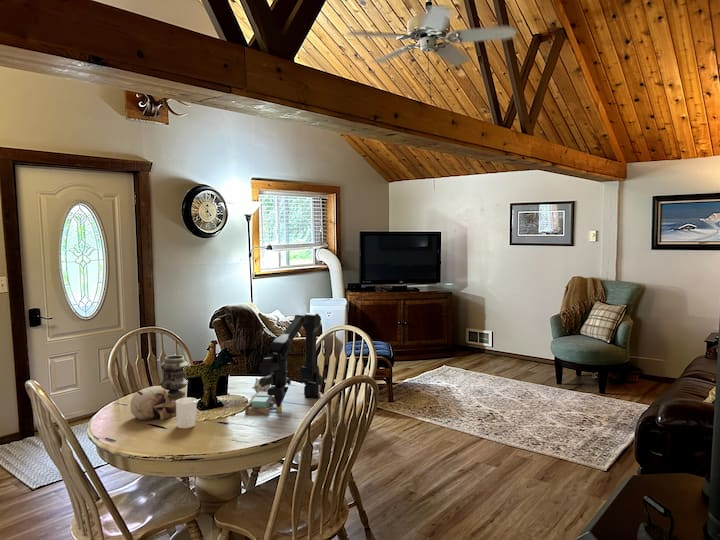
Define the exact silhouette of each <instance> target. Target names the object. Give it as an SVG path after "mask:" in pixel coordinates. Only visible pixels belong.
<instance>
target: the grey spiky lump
mask: <svg viewBox="0 0 720 540" xmlns="http://www.w3.org/2000/svg"><path fill="white" fill-rule="evenodd" d="M260 379H261V378H255V383H254V386H253V387H251V389H254V391H255V392H256V393H258V392H259V391H260V392H267V390H268V389H269V388H270V387H271V384H269V385H266V386H264V387H261V385H260V384H259V380H260Z"/></svg>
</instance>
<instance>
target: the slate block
mask: <svg viewBox="0 0 720 540" xmlns="http://www.w3.org/2000/svg"><path fill="white" fill-rule="evenodd" d="M272 396H273V395H267V392H260V391H259V392H258V394H257V395H256V397H269V402H272Z"/></svg>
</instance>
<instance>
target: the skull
mask: <svg viewBox="0 0 720 540" xmlns="http://www.w3.org/2000/svg"><path fill="white" fill-rule="evenodd" d="M129 405H130V407H129V408H130V413H131V415H133V417H135V418H137V420H138V421H150V420H155V419H157V418H159V420H165V419H170V418H173V417H176V400H173V399H172V398H171V397H170V394H168V390H166V389H164V388H162V387H161V385H154V386H153V385H151V386H149V387H145V388H143V389H140V390H138V391H137V392H135V393H134V395H133V396H132V398H131V401H130V404H129Z"/></svg>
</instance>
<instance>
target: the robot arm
mask: <svg viewBox="0 0 720 540" xmlns="http://www.w3.org/2000/svg"><path fill="white" fill-rule="evenodd" d="M321 321H322V319H321V315H320V314H319V313H312V312H305V313H296V314H295V315H294V318H293V319H292V320H291V322H290V323H289V325H288V327H286V329H285V331H284V332H283V333H282V334H281V335H279V336H278V337H276V338H274V340H273V341H272V342H271V345H270V346H269V349H268V351H267V353H266V356H265V357H264V358H263V361H261V362H260V363H259V366H258V367H259V368H258V369H259V371H260V373H261V374H262V375H263V376H262V377H261V378H259V379H260V380H259V384H260V385H261V387H264V386H266V385H269V384H270V388H269V389H268V390H267V395H272V396H274V397H275V400H276V402H275V405H276V404H277V407H280V405H281V402H282V403H283V401H284V399H285V397H286V395H287V392H288V389H289V386H290V385H291V384H292V379H291V378H290V376H289V377H287V376H288V370H287V369H288V367H287V366H288V359H290V358H291V356H290V355H289V352H290V351H291V348H292V343H293V340H294V339H295V337H296V336H297V335H298V333H299V332H300V331H301V329H302V327H303V330H304V331H305V354H304V355H305V357H304V360H305V361H304V364H303V365H302V366H301V367H300V377H301V378H300V379H301V382H302V384H305V385H304V389H303V390H304V391H303V396H304V398H305V397H308V398H307V399H319V397H320V395H321V393H320V386H322V385H323V382H324V378H323V376H322V375H321V374H320V367H319V365H318V364H317V334H318V333H317V332H318V331H319V329H320V327H321ZM286 385H288V386H286Z"/></svg>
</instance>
